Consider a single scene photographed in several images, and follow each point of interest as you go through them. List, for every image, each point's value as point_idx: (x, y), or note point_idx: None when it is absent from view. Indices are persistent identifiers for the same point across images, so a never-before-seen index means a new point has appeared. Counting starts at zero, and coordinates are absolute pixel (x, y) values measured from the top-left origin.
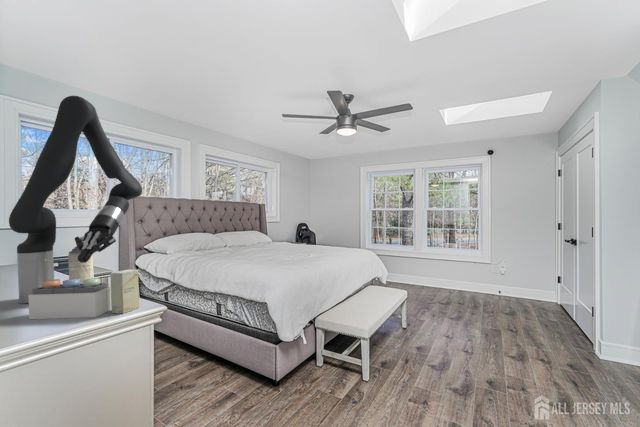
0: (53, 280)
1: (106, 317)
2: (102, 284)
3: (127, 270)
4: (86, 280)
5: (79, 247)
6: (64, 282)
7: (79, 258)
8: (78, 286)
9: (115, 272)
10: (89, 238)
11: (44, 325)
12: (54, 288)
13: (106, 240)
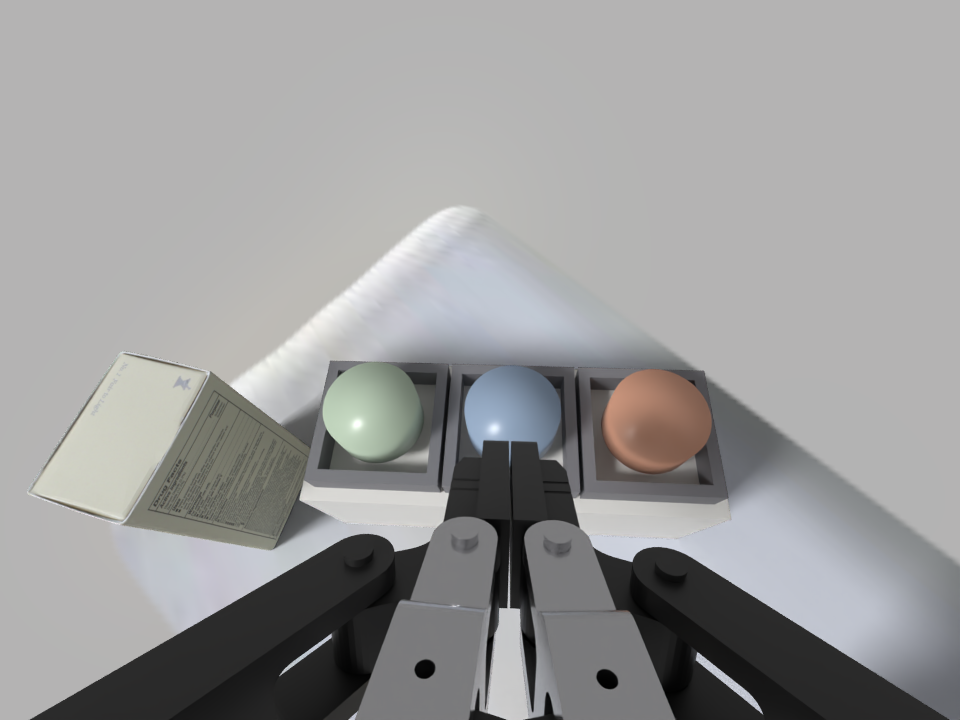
0: (654, 422)
1: (314, 403)
2: (320, 436)
3: (107, 458)
4: (389, 382)
5: (650, 554)
6: (522, 368)
7: (516, 441)
8: (454, 407)
9: (180, 390)
10: (570, 716)
11: (516, 346)
12: (579, 380)
13: (128, 665)
